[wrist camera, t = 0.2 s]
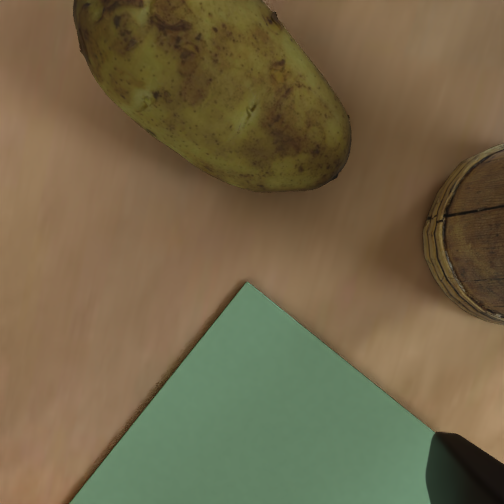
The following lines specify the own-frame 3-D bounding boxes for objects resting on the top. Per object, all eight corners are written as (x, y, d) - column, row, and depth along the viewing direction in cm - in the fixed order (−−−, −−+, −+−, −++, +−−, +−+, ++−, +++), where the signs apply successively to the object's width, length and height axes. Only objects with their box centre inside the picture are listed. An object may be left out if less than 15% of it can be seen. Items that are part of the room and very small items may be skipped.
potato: (236, 258, 24) (218, 252, 16) (94, 70, 25) (9, -25, 17) (361, 162, 24) (406, 109, 16) (215, -23, 25) (187, -164, 17)
